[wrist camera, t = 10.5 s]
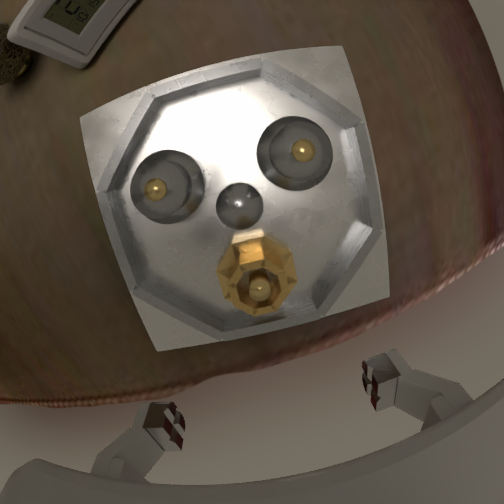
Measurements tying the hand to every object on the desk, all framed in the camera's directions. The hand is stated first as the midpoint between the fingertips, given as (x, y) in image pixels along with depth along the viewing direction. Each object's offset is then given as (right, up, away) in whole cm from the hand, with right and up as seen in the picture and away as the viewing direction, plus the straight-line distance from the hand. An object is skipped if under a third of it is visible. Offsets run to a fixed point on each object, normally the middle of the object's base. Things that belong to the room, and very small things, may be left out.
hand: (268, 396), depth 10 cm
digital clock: (-15, +32, +7) cm, 36 cm away
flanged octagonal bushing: (0, +4, +14) cm, 15 cm away
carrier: (-2, +10, +14) cm, 17 cm away
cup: (-28, +28, +8) cm, 41 cm away
